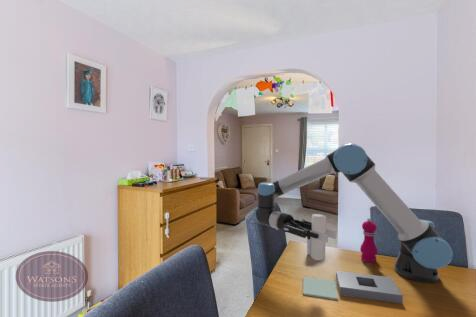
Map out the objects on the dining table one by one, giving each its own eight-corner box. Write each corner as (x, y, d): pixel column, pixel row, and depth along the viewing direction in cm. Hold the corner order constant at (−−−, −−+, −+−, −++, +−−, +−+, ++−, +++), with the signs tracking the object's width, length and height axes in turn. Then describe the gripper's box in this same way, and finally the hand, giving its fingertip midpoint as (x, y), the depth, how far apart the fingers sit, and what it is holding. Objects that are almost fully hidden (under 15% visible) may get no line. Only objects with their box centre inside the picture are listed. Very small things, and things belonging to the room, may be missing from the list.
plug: (324, 255, 94) (325, 214, 94) (325, 261, 90) (326, 218, 89) (311, 253, 96) (311, 213, 95) (311, 259, 91) (312, 217, 90)
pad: (334, 281, 97) (334, 280, 97) (338, 300, 86) (338, 298, 86) (303, 277, 100) (303, 276, 100) (302, 294, 89) (302, 293, 89)
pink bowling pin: (360, 261, 114) (361, 219, 114) (359, 255, 121) (360, 215, 120) (378, 264, 112) (379, 221, 111) (376, 257, 118) (376, 217, 118)
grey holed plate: (390, 284, 95) (390, 277, 95) (402, 303, 83) (402, 295, 83) (335, 277, 100) (336, 270, 100) (339, 294, 89) (339, 286, 89)
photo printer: (319, 249, 128) (319, 226, 128) (325, 252, 125) (326, 228, 124) (305, 254, 123) (305, 230, 122) (312, 257, 119) (312, 232, 119)
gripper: (294, 225, 112) (343, 240, 94) (267, 234, 101) (317, 253, 83) (294, 209, 112) (344, 221, 94) (267, 216, 100) (317, 232, 82)
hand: (331, 236), depth 88 cm, fingers closed on plug, 5 cm apart
